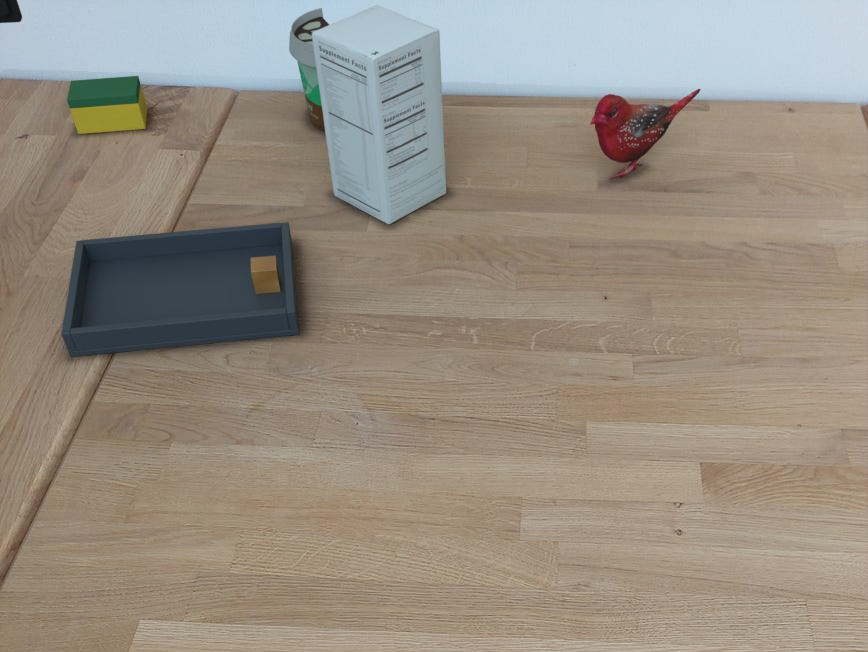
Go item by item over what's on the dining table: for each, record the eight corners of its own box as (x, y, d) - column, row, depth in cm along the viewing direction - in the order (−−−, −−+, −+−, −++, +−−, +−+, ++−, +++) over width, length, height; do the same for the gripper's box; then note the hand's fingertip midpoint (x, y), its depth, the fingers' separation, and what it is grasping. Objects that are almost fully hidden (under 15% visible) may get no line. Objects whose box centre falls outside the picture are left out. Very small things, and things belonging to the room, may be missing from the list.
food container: (285, 105, 120) (270, 16, 112) (331, 94, 122) (320, 6, 114) (321, 149, 114) (309, 58, 106) (369, 137, 116) (360, 47, 108)
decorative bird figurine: (574, 190, 109) (582, 97, 100) (682, 138, 115) (697, 48, 107) (592, 200, 107) (601, 107, 99) (700, 148, 114) (716, 57, 106)
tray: (70, 357, 91) (60, 334, 89) (84, 263, 100) (76, 240, 98) (299, 334, 93) (294, 311, 91) (292, 244, 102) (288, 221, 100)
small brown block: (255, 294, 96) (250, 272, 94) (255, 279, 98) (250, 257, 96) (280, 292, 96) (276, 269, 94) (280, 277, 98) (275, 255, 96)
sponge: (78, 134, 116) (66, 99, 113) (81, 114, 119) (70, 80, 116) (145, 129, 117) (136, 94, 114) (147, 109, 120) (138, 75, 117)
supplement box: (449, 194, 108) (444, 29, 94) (389, 227, 104) (375, 60, 91) (390, 164, 112) (377, 1, 98) (330, 195, 108) (308, 29, 94)
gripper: (-84, -236, 91) (-13, -28, 105) (-122, -185, 81) (-39, 39, 95) (-1, -237, 92) (58, -30, 106) (-29, -187, 82) (40, 35, 96)
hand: (12, 2), depth 100 cm, fingers open, 9 cm apart
